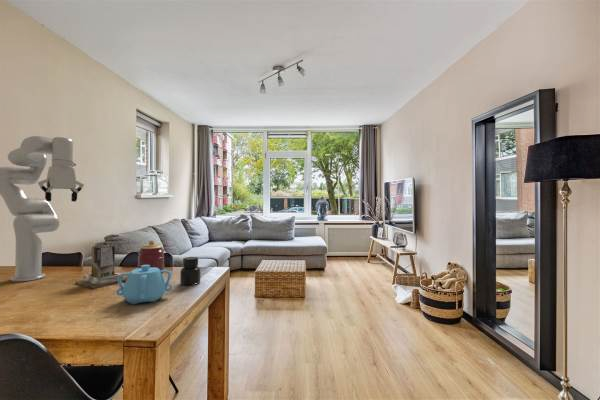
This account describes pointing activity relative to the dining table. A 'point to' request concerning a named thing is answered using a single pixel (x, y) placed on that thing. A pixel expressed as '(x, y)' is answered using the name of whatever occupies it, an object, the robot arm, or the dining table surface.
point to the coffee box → (103, 261)
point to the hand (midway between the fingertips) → (61, 201)
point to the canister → (151, 255)
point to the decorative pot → (144, 285)
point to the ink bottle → (190, 271)
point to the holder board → (99, 281)
